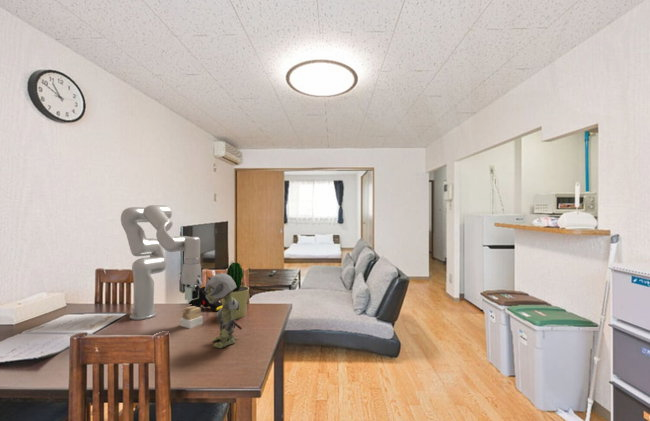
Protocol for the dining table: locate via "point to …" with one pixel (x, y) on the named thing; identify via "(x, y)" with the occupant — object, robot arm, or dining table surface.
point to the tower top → (191, 312)
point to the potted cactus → (238, 289)
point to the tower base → (191, 322)
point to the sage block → (189, 293)
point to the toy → (217, 290)
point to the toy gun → (205, 301)
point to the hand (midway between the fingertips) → (191, 297)
